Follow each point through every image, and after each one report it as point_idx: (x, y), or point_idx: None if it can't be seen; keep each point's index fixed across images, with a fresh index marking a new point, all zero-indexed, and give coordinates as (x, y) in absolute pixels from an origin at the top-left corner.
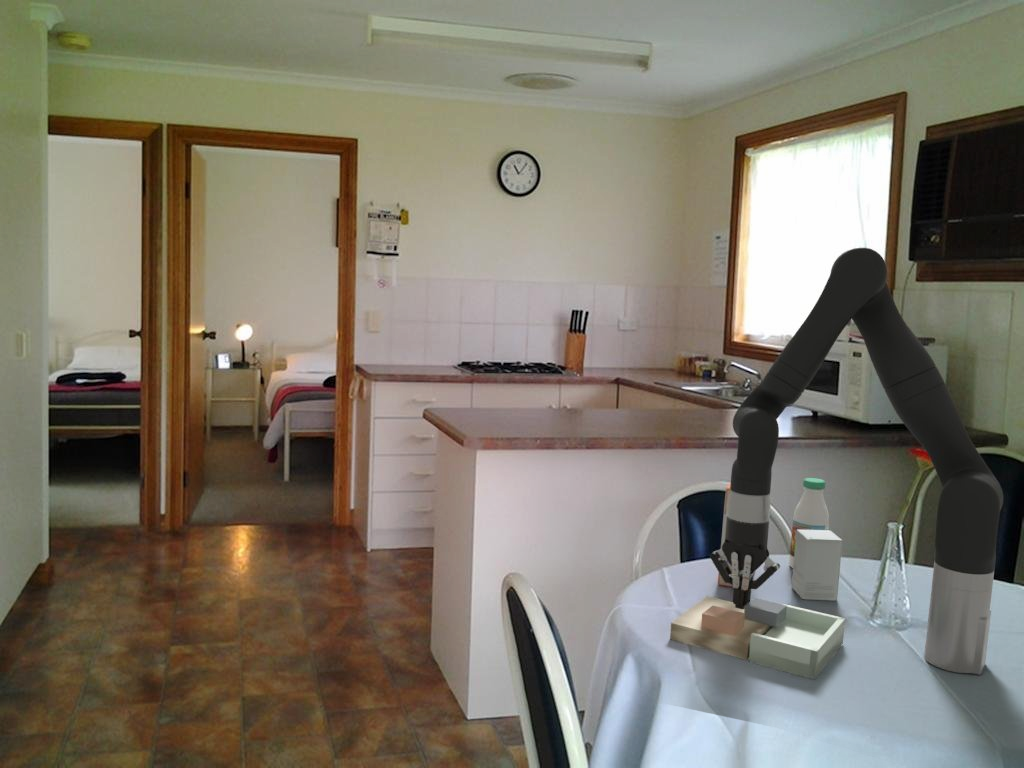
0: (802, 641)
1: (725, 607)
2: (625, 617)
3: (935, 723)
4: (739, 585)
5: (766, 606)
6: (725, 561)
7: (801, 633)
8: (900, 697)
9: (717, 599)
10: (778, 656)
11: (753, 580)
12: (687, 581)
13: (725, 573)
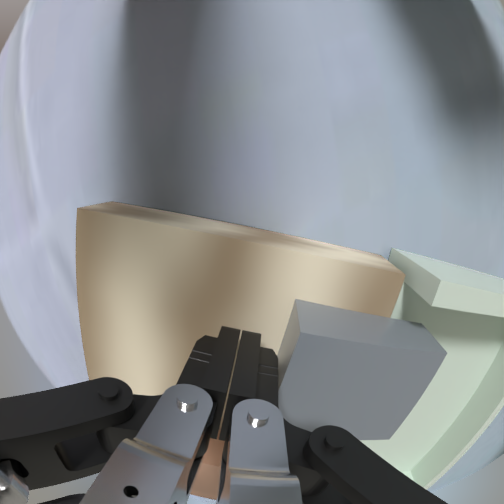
0: (428, 410)
1: (170, 310)
2: (18, 334)
3: (492, 449)
4: (205, 452)
5: (358, 408)
6: (11, 443)
7: (442, 367)
8: (495, 427)
9: (116, 226)
10: None
11: (290, 462)
12: (59, 11)
13: (96, 468)
